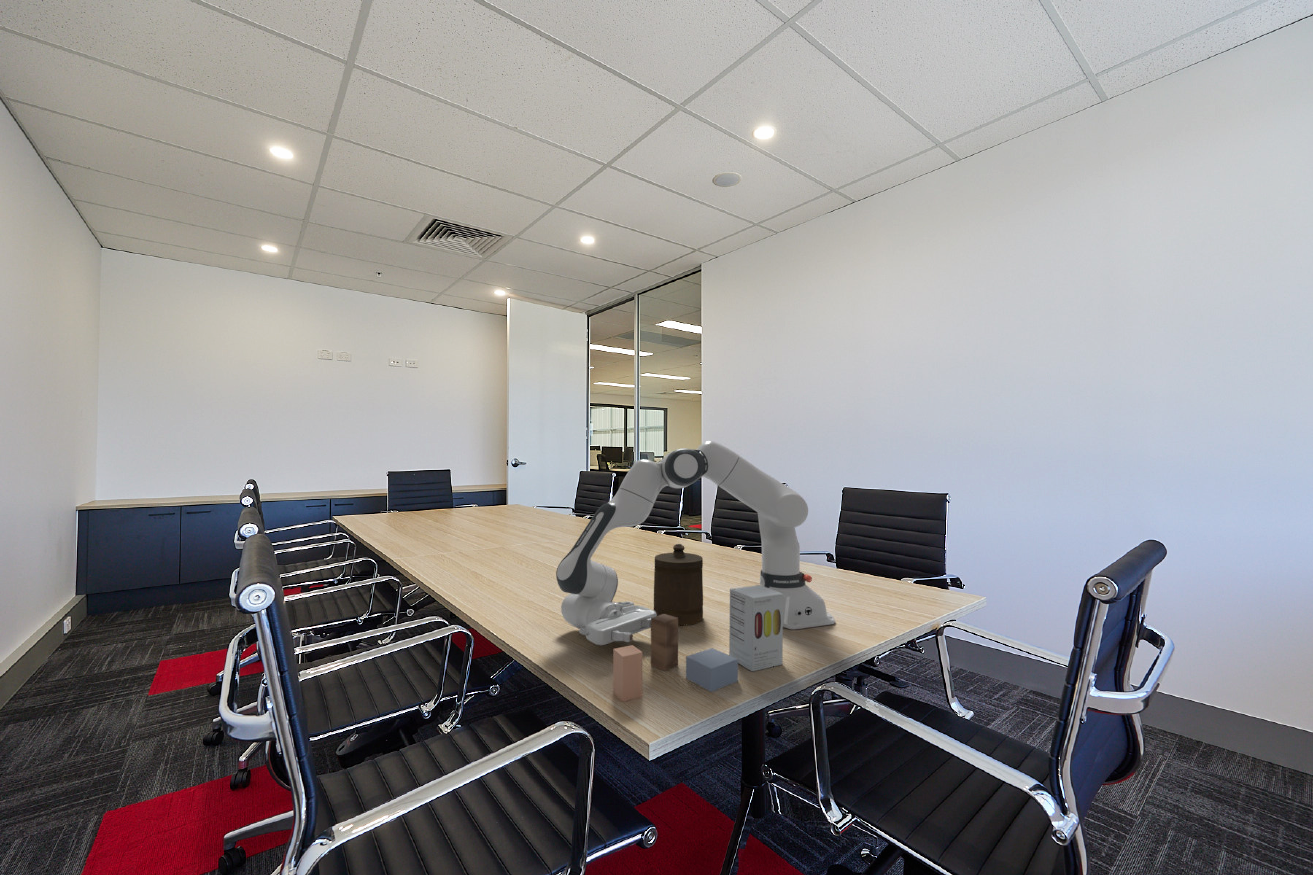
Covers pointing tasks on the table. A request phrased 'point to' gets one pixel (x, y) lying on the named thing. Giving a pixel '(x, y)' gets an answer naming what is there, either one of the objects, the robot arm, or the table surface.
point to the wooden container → (679, 586)
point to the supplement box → (756, 627)
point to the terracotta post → (627, 672)
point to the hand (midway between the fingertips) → (644, 632)
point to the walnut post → (664, 642)
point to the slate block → (711, 669)
